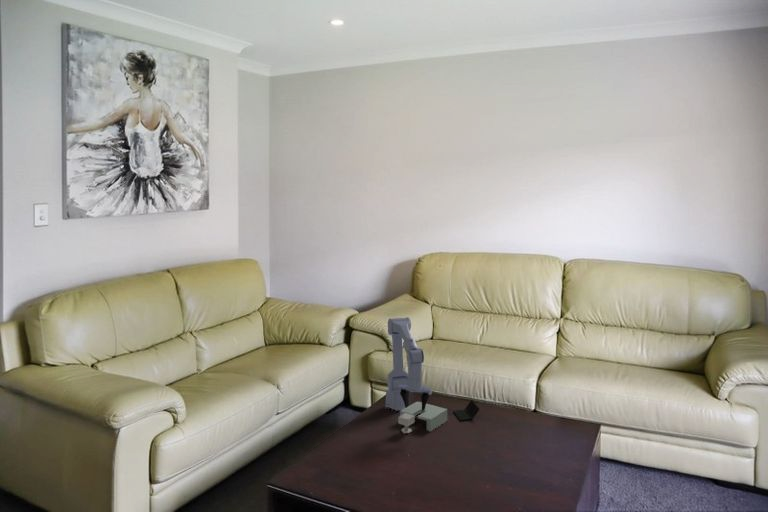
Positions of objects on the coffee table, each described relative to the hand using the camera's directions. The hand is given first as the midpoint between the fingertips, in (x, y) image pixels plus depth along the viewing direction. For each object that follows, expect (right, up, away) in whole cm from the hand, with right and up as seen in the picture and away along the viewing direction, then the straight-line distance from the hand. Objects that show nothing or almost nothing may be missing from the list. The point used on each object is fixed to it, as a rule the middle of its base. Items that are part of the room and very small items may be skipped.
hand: (415, 408), depth 247 cm
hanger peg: (-4, -10, -1) cm, 11 cm away
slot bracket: (+4, -9, +10) cm, 14 cm away
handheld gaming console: (+24, -8, +17) cm, 30 cm away
